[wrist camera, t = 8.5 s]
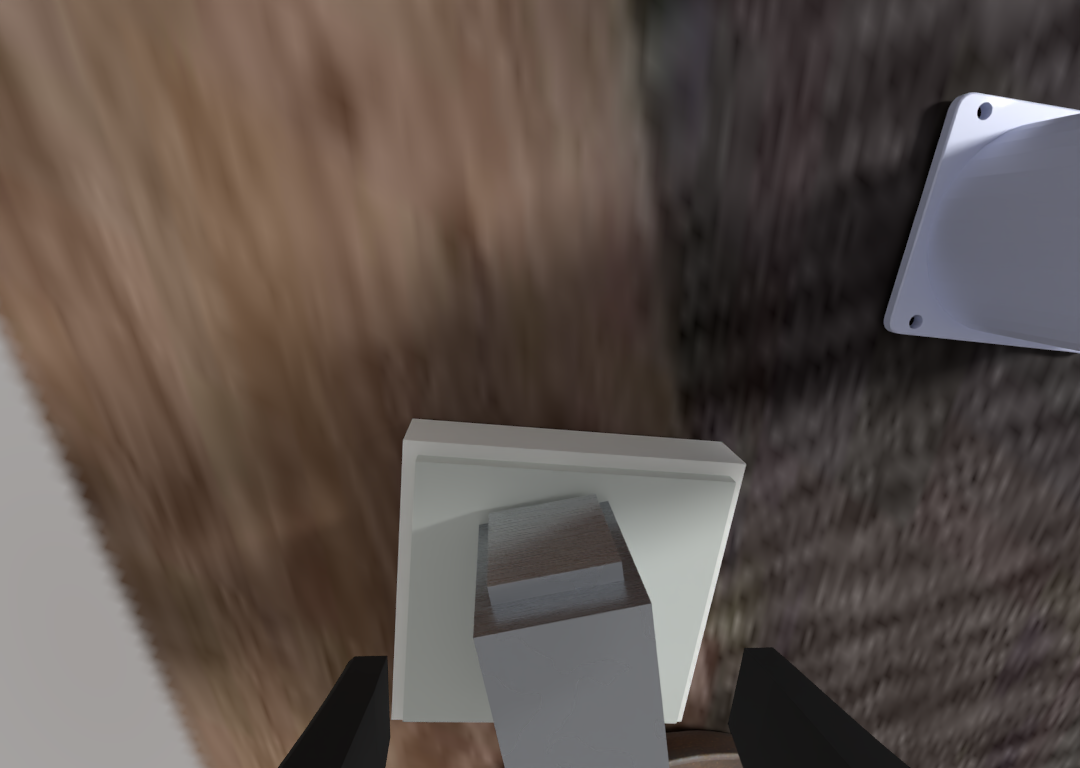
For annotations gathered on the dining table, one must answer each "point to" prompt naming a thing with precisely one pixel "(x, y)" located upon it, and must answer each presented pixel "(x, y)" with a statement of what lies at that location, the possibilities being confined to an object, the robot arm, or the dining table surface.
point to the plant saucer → (702, 750)
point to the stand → (535, 478)
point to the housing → (567, 640)
